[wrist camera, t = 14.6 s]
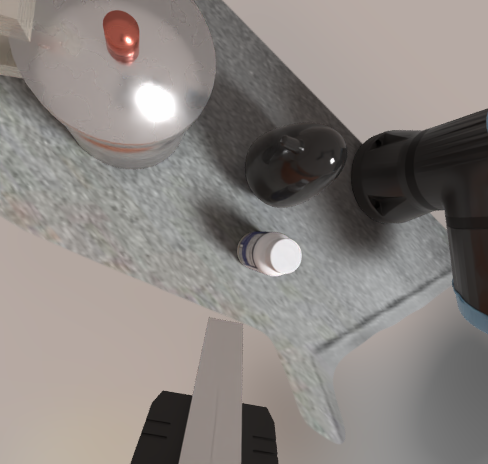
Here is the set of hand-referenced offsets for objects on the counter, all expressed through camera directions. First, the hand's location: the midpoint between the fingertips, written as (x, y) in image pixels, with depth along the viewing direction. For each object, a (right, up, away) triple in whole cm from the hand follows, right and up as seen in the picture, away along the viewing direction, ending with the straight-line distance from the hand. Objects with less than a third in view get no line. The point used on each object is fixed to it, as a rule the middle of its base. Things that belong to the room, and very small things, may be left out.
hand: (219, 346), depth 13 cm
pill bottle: (+2, +2, +29) cm, 30 cm away
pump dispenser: (+5, +13, +30) cm, 33 cm away
